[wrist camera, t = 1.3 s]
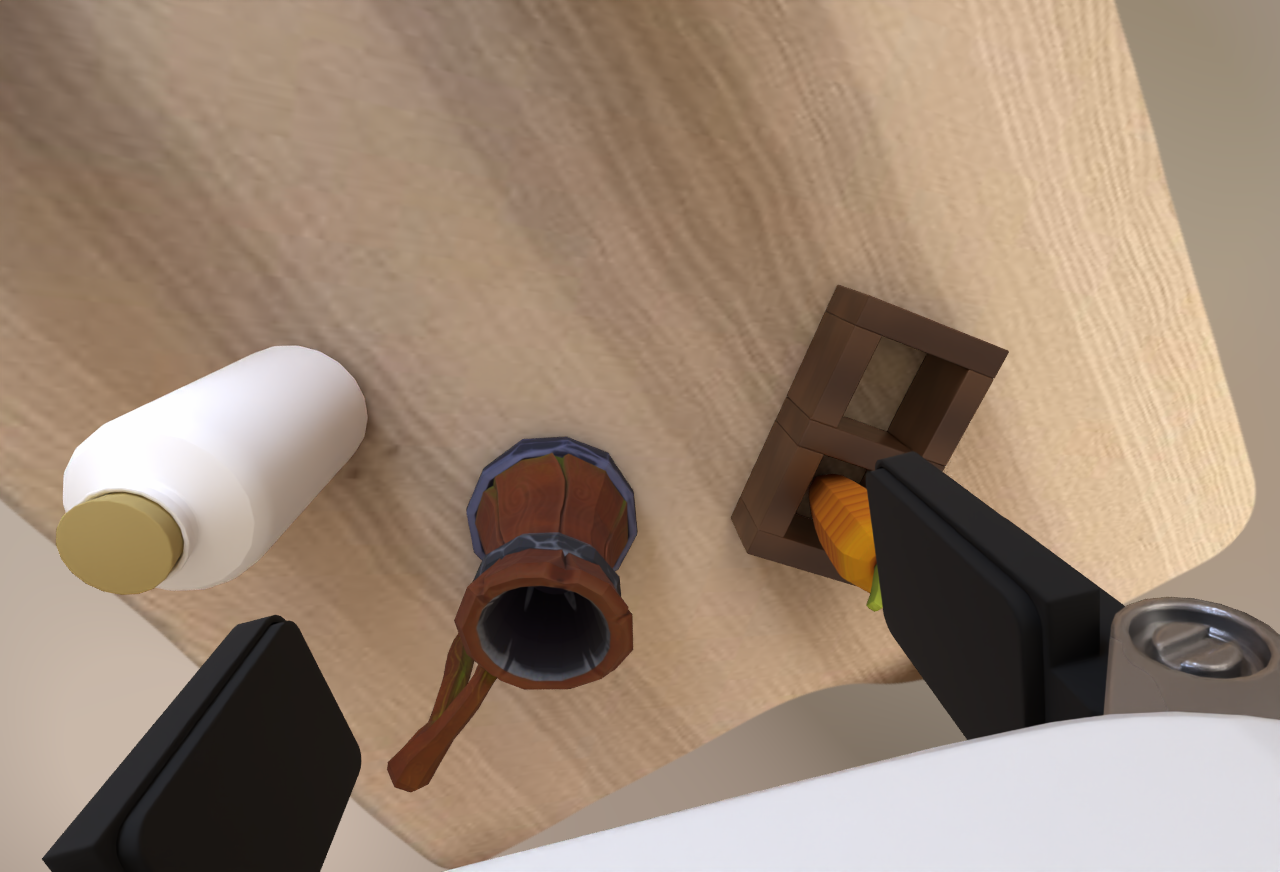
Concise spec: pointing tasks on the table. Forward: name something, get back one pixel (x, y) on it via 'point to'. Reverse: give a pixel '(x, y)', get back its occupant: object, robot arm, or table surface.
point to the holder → (819, 427)
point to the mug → (534, 587)
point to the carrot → (846, 531)
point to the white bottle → (208, 473)
